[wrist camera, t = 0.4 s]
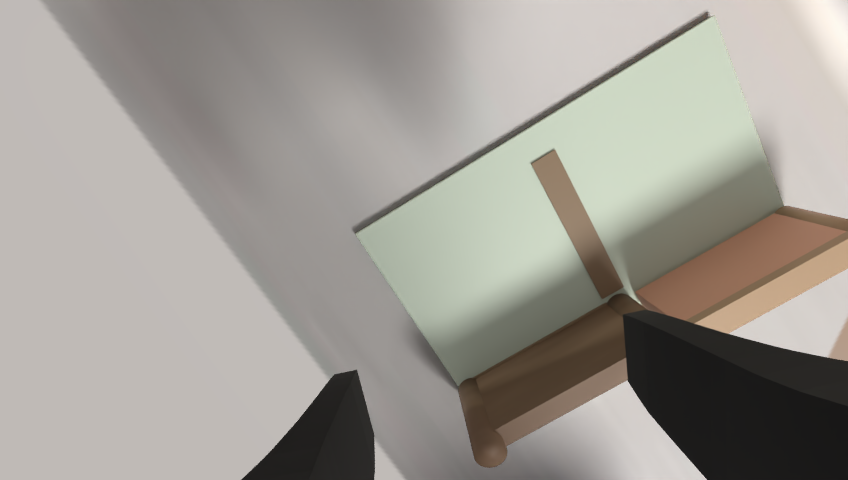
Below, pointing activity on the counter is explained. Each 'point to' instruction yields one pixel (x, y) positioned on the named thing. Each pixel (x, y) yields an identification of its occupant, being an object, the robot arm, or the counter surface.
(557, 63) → the counter surface
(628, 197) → the card
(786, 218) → the hinged panel
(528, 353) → the fence fixed
